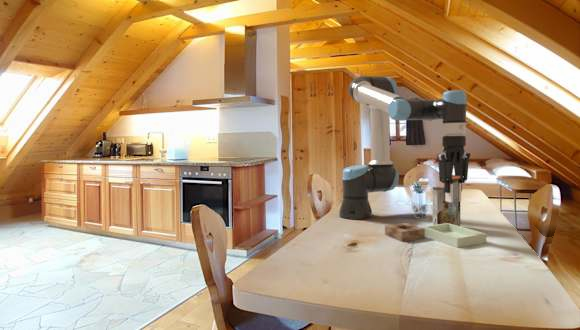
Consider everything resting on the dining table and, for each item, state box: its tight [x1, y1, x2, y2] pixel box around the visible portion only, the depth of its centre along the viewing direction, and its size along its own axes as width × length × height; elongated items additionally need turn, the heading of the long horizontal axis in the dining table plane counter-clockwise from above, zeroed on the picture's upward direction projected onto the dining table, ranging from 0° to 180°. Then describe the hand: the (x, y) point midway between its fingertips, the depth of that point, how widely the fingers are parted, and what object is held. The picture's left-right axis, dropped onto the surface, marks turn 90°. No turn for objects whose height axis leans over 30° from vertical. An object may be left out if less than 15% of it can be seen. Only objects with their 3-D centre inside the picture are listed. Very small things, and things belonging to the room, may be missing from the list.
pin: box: [448, 174, 460, 215], centre depth 129 cm, size 4×4×14 cm
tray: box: [420, 223, 487, 248], centre depth 130 cm, size 17×13×3 cm
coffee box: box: [432, 186, 461, 226], centre depth 145 cm, size 9×6×16 cm
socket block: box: [384, 222, 426, 243], centre depth 134 cm, size 10×10×4 cm
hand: (453, 201), depth 129 cm, fingers closed on pin, 3 cm apart
